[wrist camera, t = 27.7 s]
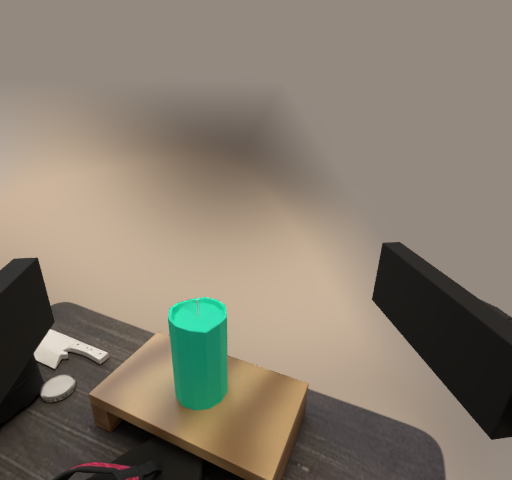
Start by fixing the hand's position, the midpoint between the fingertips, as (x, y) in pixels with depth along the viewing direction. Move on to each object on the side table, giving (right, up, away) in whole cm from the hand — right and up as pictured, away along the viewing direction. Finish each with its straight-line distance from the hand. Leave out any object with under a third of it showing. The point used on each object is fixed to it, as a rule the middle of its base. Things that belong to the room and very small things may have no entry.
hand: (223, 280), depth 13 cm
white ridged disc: (-25, -18, +30) cm, 43 cm away
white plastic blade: (-28, -15, +36) cm, 49 cm away
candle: (-5, -16, +25) cm, 30 cm away
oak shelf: (-5, -20, +27) cm, 34 cm away
